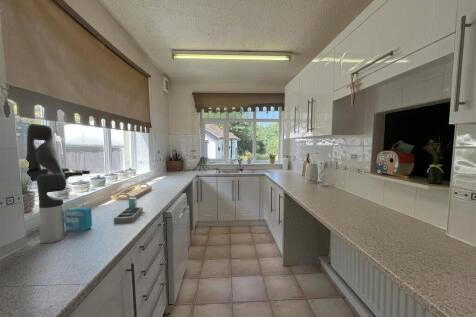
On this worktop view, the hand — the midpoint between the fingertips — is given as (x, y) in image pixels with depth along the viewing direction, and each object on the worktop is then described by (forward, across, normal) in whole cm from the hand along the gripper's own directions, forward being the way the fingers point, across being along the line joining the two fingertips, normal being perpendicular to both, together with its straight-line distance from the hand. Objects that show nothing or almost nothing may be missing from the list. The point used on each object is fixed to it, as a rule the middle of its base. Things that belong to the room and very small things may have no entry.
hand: (85, 173), depth 146 cm
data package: (+7, -23, +29) cm, 38 cm away
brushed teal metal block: (+28, +2, +28) cm, 40 cm away
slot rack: (+28, -5, +29) cm, 41 cm away
